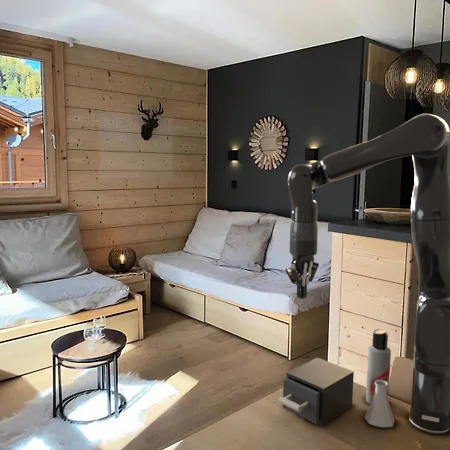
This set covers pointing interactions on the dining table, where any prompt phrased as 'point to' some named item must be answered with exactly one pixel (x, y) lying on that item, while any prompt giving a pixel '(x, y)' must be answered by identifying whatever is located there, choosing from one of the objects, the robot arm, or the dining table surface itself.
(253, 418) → the dining table surface
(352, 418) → the dining table surface
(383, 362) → the lotion bottle
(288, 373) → the cabinet
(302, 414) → the drawer
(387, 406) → the flask
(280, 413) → the dining table surface
